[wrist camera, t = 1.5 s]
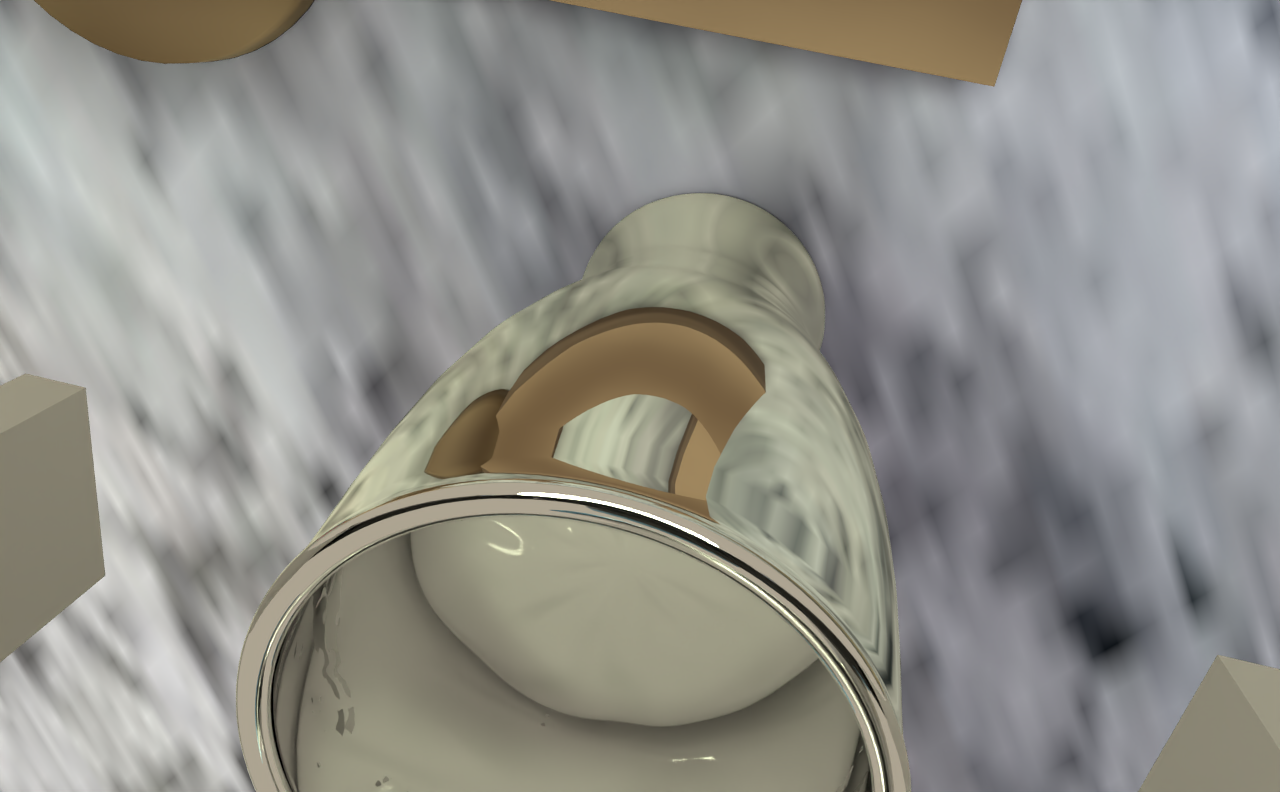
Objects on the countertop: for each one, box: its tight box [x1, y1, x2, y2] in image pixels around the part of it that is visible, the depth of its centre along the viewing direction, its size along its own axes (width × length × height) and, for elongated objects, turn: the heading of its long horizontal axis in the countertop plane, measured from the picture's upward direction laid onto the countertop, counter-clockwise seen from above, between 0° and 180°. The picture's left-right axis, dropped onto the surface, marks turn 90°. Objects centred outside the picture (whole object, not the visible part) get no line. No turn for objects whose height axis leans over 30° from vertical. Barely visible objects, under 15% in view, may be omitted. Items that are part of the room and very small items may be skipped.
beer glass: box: [236, 193, 911, 792], centre depth 15 cm, size 7×7×15 cm
